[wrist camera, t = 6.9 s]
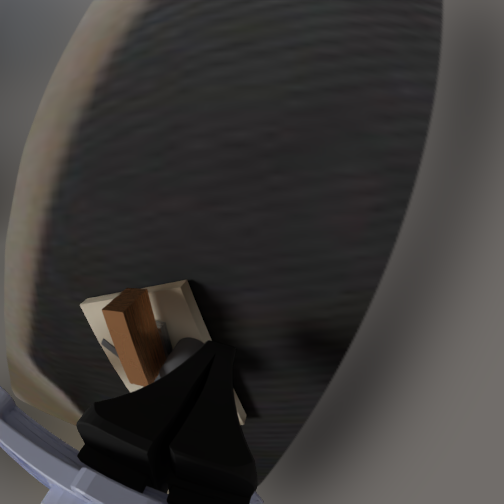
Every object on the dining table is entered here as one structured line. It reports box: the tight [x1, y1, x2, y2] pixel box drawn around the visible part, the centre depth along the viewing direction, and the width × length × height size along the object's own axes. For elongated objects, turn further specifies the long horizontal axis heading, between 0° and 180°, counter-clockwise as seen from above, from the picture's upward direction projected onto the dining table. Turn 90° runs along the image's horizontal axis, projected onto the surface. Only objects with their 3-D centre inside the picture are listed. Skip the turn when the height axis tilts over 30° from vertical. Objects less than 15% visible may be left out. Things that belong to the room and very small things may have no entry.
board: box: [80, 280, 247, 425], centre depth 19 cm, size 12×9×1 cm
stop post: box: [159, 337, 204, 378], centre depth 16 cm, size 2×2×3 cm
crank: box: [102, 288, 173, 387], centre depth 16 cm, size 12×4×3 cm, turn 5°
